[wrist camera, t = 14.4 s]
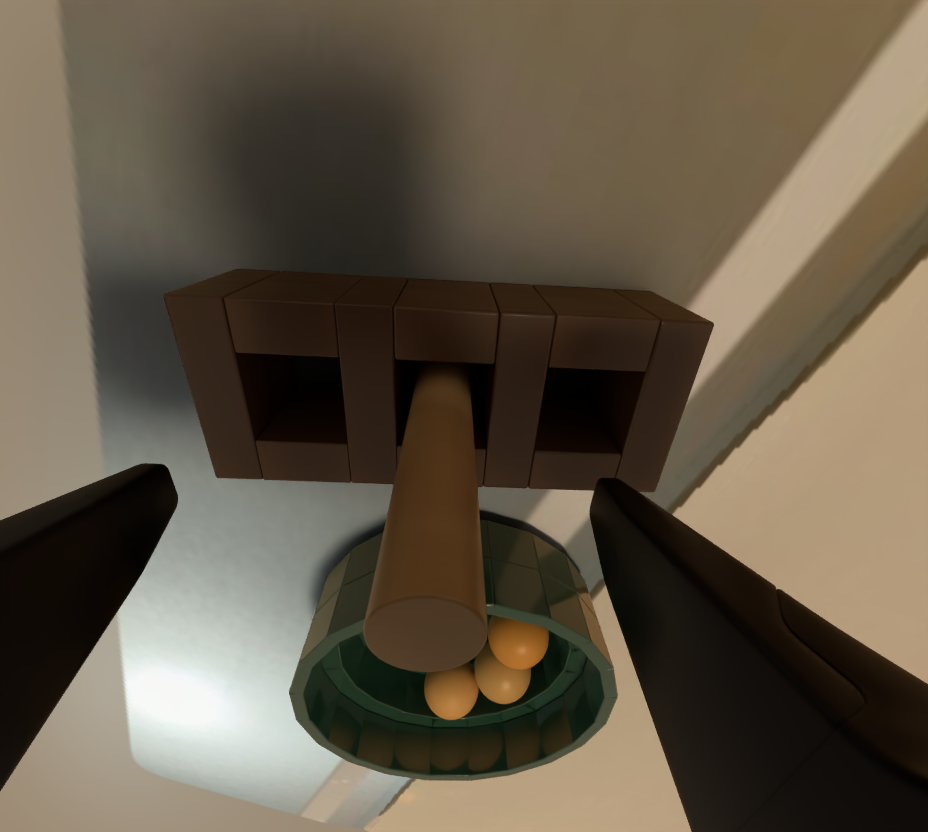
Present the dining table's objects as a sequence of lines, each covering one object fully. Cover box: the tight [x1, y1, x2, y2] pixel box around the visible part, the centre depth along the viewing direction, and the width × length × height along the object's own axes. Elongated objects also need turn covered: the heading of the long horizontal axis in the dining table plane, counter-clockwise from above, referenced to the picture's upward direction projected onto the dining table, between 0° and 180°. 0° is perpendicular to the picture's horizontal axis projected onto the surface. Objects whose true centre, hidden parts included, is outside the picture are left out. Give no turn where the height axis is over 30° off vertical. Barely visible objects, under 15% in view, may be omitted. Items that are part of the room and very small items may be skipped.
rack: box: [163, 269, 714, 492], centre depth 14 cm, size 14×6×4 cm, turn 87°
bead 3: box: [474, 641, 531, 704], centre depth 22 cm, size 3×3×3 cm
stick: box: [363, 361, 488, 672], centre depth 11 cm, size 2×2×11 cm
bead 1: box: [424, 662, 479, 720], centre depth 22 cm, size 3×3×3 cm
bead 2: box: [488, 615, 549, 670], centre depth 20 cm, size 3×3×3 cm
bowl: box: [289, 520, 618, 781], centre depth 20 cm, size 14×14×5 cm
